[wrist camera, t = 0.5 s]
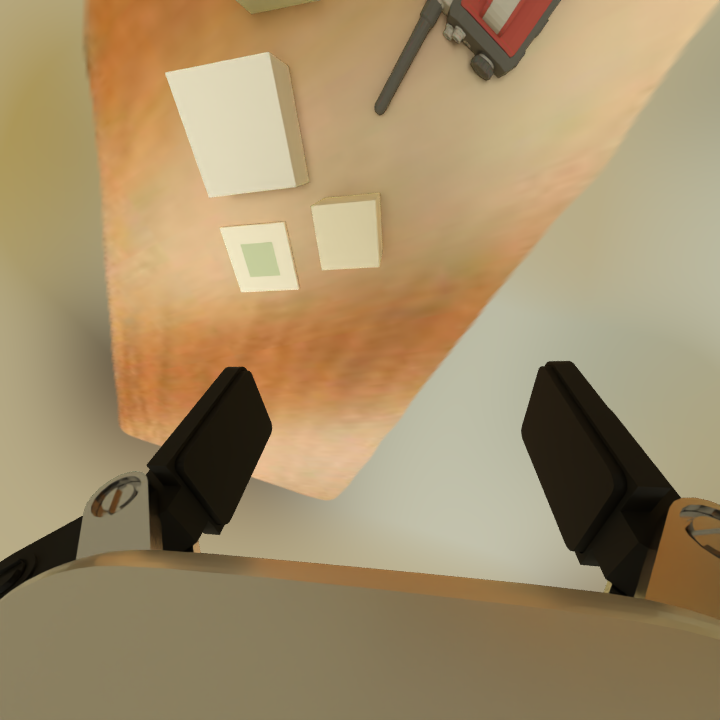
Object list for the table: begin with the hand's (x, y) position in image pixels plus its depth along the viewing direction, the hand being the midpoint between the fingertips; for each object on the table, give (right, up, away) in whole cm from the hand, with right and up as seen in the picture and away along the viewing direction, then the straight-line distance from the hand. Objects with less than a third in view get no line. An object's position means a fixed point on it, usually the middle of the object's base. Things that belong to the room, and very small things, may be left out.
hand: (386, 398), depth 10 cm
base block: (-11, +24, +20) cm, 33 cm away
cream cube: (-2, +17, +24) cm, 29 cm away
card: (-13, +14, +27) cm, 33 cm away
